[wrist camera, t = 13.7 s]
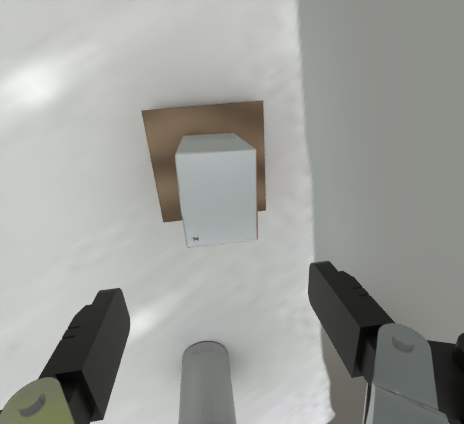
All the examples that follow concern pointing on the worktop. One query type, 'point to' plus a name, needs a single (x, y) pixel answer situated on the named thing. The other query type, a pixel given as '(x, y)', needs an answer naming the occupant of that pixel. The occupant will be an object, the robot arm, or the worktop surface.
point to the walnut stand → (198, 123)
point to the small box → (217, 189)
